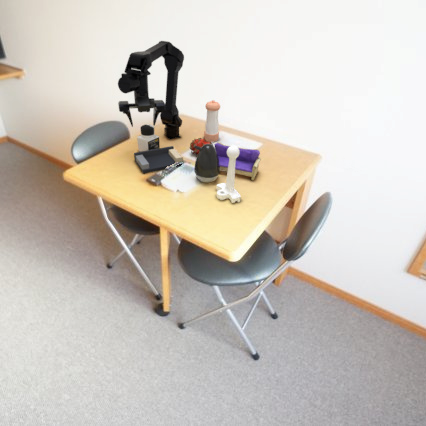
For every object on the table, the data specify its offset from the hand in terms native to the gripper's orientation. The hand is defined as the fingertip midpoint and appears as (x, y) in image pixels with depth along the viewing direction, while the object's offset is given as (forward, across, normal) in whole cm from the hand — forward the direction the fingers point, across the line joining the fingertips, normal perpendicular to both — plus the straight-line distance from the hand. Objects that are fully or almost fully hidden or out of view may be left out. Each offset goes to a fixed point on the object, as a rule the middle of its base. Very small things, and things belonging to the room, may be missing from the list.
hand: (143, 126), depth 137 cm
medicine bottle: (+13, +2, +3) cm, 14 cm away
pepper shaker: (+12, +35, +10) cm, 38 cm away
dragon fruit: (+13, +25, -5) cm, 29 cm away
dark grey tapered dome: (+14, +21, -27) cm, 37 cm away
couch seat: (+14, +5, -10) cm, 17 cm away
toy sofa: (+13, +34, -23) cm, 43 cm away
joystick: (+14, +25, -40) cm, 49 cm away
